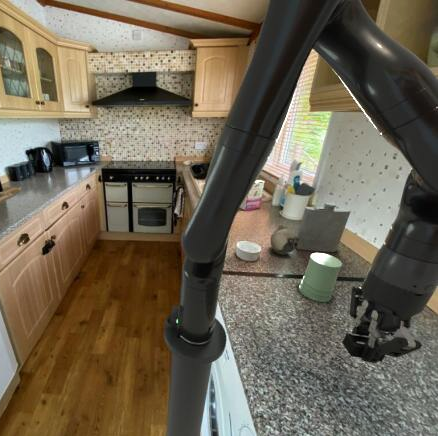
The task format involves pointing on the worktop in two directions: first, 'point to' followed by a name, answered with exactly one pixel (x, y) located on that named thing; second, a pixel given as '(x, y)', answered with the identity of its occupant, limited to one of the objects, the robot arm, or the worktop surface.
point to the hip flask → (322, 228)
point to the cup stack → (320, 277)
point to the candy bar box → (254, 196)
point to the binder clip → (356, 344)
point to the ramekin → (248, 250)
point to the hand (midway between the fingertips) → (361, 351)
